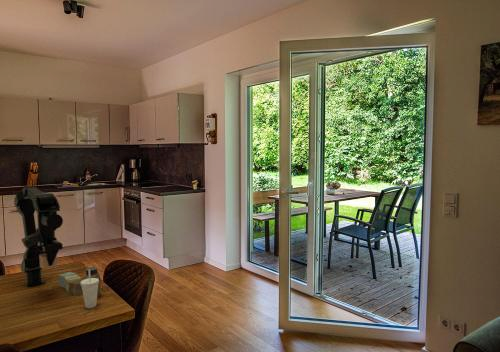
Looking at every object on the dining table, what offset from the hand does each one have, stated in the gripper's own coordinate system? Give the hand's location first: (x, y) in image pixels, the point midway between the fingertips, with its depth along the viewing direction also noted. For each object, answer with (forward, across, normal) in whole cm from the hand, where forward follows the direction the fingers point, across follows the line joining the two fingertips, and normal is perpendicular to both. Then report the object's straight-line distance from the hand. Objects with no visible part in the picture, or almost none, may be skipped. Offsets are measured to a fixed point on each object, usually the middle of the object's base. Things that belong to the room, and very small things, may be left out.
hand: (48, 264), depth 147 cm
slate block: (+13, -7, +9) cm, 17 cm away
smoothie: (+13, +22, +8) cm, 27 cm away
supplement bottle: (+13, +13, +12) cm, 22 cm away
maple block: (+13, -1, +9) cm, 16 cm away
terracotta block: (+1, 0, 0) cm, 1 cm away
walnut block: (+13, +5, +9) cm, 17 cm away
